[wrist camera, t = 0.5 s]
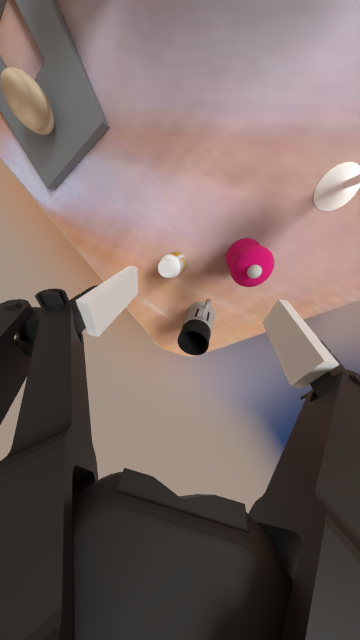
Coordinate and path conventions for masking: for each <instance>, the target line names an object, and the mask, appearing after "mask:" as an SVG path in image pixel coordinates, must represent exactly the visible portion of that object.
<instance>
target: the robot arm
mask: <svg viewBox="0 0 360 640" xmlns="http://www.w3.org/2000/svg"><path fill="white" fill-rule="evenodd" d="M137 294H138V275H137V267H134V266H130V265H129V266H128V267H126V268H125V269H123V270H122V271H120V272H119V273H117V274H115V275H114V276H112V277H111V278H109V279H108V280H106V281H105V282H103V283H102V284H100V285H96V286H93V287H90V288H88V289H87V290H86V291H84V292H82V293H81V294H79V295H77V296H76V297H74V298H72V299H71V300H69V299H68V297H67V294H66V292H65V291H64V290H62V289H48V290H43V291H41V292H39V293H37V294H36V295H35V297H36V299H37V301H38V302H39V304H40V306H41V308H40V307H39V308H37V307H31V305H30V304H29V302H28V301H26V300H21V299H18V300H9V301H6V302H4V303H1V304H0V424H1V423H2V421H3V419H4V417H5V415H6V414H7V412H8V410H9V408H10V406H11V404H12V403H13V401H14V399H15V397H16V395H17V394H18V392H19V390H20V388H21V386H22V384H23V383H24V381H25V379H26V377H27V380H26V385H25V389H24V394H23V398H22V403H21V408H20V412H19V417H18V421H17V426H16V431H15V435H14V440H13V444H12V447H11V450H10V452H9V454H8V455H7V456H6V457H5V458H4V459H3V460H2V461H0V640H360V375H359V374H357V373H355V372H353V371H350V370H346V369H345V368H344V367H343V366H342V364H341V363H340V362H339V361H338V360H337V358H336V357H335V356H334V355H333V354H332V353H331V351H330V350H329V349H328V348H327V346H326V345H325V344H324V343H323V342H322V341H321V340H320V339H319V338H318V337H317V336H316V335H315V334H314V333H313V332H312V330H311V329H310V328H309V327H308V325H307V324H306V323H305V322H304V321H303V319H302V318H301V317H300V316H299V314H298V313H297V312H296V311H295V310H294V308H293V307H292V306H291V305H290V304H289V302H288V301H285V300H281V299H278V301H277V302H276V304H275V305H274V307H273V308H272V310H271V311H270V313H269V314H268V315H267V317H266V318H265V320H264V321H263V324H264V327H265V329H266V331H267V333H268V336H269V338H270V340H271V343H272V345H273V347H274V349H275V352H276V354H277V356H278V358H279V360H280V363H281V365H282V368H283V370H284V372H285V374H286V377H287V379H288V381H289V383H290V386H293V387H297V388H301V389H303V388H305V387H306V386H308V385H309V384H310V385H311V387H312V388H313V390H311V391H310V392H308V393H307V394H305V395H303V396H302V397H301V399H303V398H306V400H305V402H304V404H303V406H302V409H301V411H300V414H299V416H298V418H297V420H296V423H295V425H294V427H293V430H292V432H291V434H290V436H289V439H288V441H287V443H286V446H285V448H284V451H283V453H282V455H281V457H280V460H279V462H278V464H277V467H276V469H275V471H274V473H273V476H272V478H271V480H270V483H269V485H268V487H267V490H266V492H265V493H264V495H263V496H262V497H261V498H259V499H258V500H257V501H256V502H255V503H254V505H253V507H252V508H251V510H250V512H249V514H247V512H246V509H245V504H243V503H240V502H236V501H233V500H230V499H226V498H223V497H219V496H216V495H201V494H195V495H188V496H180V497H179V496H177V495H176V494H175V493H173V492H172V491H171V490H169V489H168V488H167V487H166V486H164V485H163V484H162V483H161V482H159V481H158V480H157V479H155V478H154V477H153V476H150V475H146V474H143V473H140V472H136V471H133V470H129V469H126V468H124V470H123V472H118V473H114V474H111V475H108V476H106V477H104V478H101V479H100V480H98V472H97V462H96V456H95V452H94V448H93V444H92V438H91V437H92V436H91V425H90V414H89V401H88V389H87V378H86V366H85V354H84V343H83V334H82V331H83V330H84V329H85V328H86V330H87V333H88V335H92V336H96V337H99V336H100V335H101V334H102V332H103V331H104V330H105V329H106V328H107V327H108V326H109V325H110V324H111V323H112V321H113V320H114V319H115V318H116V317H117V316H118V315H119V314H120V313H121V311H122V310H123V309H124V308H125V307H126V306H127V305H128V304H129V303H130V302H131V301H132V300H133V298H134V297H135V296H136V295H137ZM15 335H16V336H17V337H16V339H15V340H14V336H15ZM27 375H28V376H27Z"/></svg>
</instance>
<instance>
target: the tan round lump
mask: <svg viewBox="0 0 360 640" xmlns="http://www.w3.org/2000/svg"><path fill="white" fill-rule="evenodd" d="M1 88H2V92H3V95H4V97H5V99H6V101H7V103H8V105H9V107H10V108H11V110H12V111H13V113H14V114H15V115H16V117H17V118H18V119H19V120H20V121H21V122H22V123H23V124H24V125H25V126H26V127H28V128H29V129H30V130H32V131H34V132H36V133H38V134H43V135H46V134H49V133H50V132H51V131H52V130H53V128H54V113H53V110H52V107H51V104H50V102H49V100H48V98H47V96H46V95H45V93H44V92H43V90H42V89H41V87H40V86H39V85H38V84H37V83H36V81H35V80H34V79H33V78H31V77H30V76H29V75H28V74H27V73H25V72H24V71H22V70H20V69H18V68H15V67H8V68H6V69H4V70H3V72H2V74H1Z"/></svg>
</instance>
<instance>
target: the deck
mask: <svg viewBox="0 0 360 640" xmlns="http://www.w3.org/2000/svg"><path fill="white" fill-rule="evenodd" d="M15 2H16V4H17V6H18V8H19V10H20V12H21V14H22V16H23V18H24V20H25V22H26V24H27V26H28V28H29V30H30V32H31V35H32V37H33V39H34V41H35V43H36V45H37V47H38V49H39V51H40V53H41V55H42V57H43V59H44V63H43V65H42V67H41V69H40V71H39V73H38V75H37V77H36V79H35V81H36V83H37V84H38V85H39V86H40V87H41V89H42V90H43V92H44V93H45V95H46V96H47V98H48V100H49V102H50V104H51V107H52V110H53V113H54V128H53V130H52V131H51V132H50V133H49V134H46V135H43V134H38V133H36V132H34V131H32V130H30V129H29V128H28V127H26V126H25V125H24V124H23V123H22V122H21V121H20V120H19V119H18V118H17V117H16V115H15V114H14V113H13V111H12V110H11V108H10V107H9V105H8V103H7V101H6V99H5V97H4V95H3V92H2V88H1V74H2V72H3V70H4V69H6V68H7V67H6V65H5V63H4V62H3V60H2V58H1V56H0V112H1V113H2V115H3V116H4V118H5V120H6V121H7V123H8V125H9V126H10V128H11V129H12V131H13V133H14V134H15V136H16V137H17V139H18V141H19V142H20V144H21V146H22V147H23V149H24V150H25V152H26V154H27V155H28V157H29V158H30V160H31V162H32V163H33V165H34V167H35V168H36V170H37V171H38V173H39V175H40V176H41V178H42V180H43V181H44V183H45V184H46V186H47V188H51V189H54V190H55V189H56V188H57V187H58V186H59V185H60V184H61V182H62V181H63V180H64V179H65V178H66V177H67V176H68V174H69V173H70V172H71V171H72V170H73V169H74V168H75V166H76V165H77V164H78V163H79V162H80V161H81V160H82V159H83V157H84V156H85V155H86V154H87V153H88V152H89V151H90V149H91V148H92V147H93V146H94V145H95V144H96V143H97V141H98V140H99V139H100V138H101V137H102V136H103V135H104V134H105V132H106V131H107V130H108V129H109V125H108V123H107V121H106V118H105V116H104V113H103V111H102V109H101V106H100V104H99V102H98V99H97V97H96V94H95V92H94V90H93V87H92V85H91V82H90V80H89V78H88V75H87V73H86V71H85V68H84V66H83V63H82V61H81V59H80V56H79V54H78V52H77V49H76V47H75V44H74V42H73V40H72V37H71V35H70V32H69V30H68V28H67V25H66V23H65V21H64V18H63V16H62V13H61V11H60V9H59V6H58V4H57V2H56V0H15ZM5 3H6V0H0V18H1V15H2V12H3V9H4V6H5Z"/></svg>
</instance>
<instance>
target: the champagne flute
mask: <svg viewBox="0 0 360 640" xmlns="http://www.w3.org/2000/svg"><path fill="white" fill-rule="evenodd" d="M359 187H360V166H359V165H358V164H356V163H354V162H345V163H342V164H339V165H337V166H335V167H334V168H332V169H331V170H329V171H328V172H327V173H326V174H325V175H324V176H323V177H322V179H321V180H320V181H319V183H318V185H317V187H316V189H315V192H314V196H313V199H314V204H315V206H316V207H317V208H318V209H319V210H321V211H331V210H335V209H337V208H339V207H341V206H343V205H344V204H346V203H347V202H348V201H349V200H350V199H351V198H352V197H353V196H354V195H355V194H356V192H357V191H358V189H359Z"/></svg>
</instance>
